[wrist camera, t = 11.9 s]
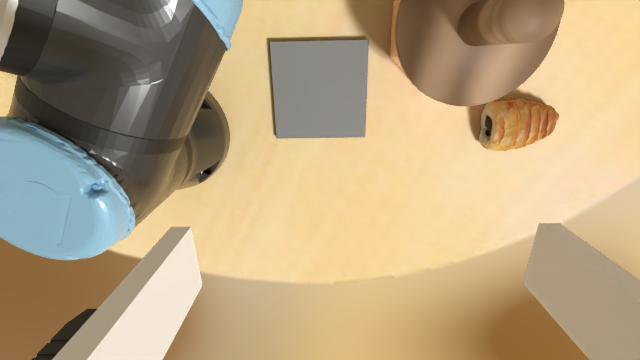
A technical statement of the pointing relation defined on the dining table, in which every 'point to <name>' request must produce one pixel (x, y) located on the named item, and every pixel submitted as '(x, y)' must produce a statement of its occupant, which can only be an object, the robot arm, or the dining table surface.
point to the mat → (320, 88)
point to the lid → (473, 45)
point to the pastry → (515, 123)
